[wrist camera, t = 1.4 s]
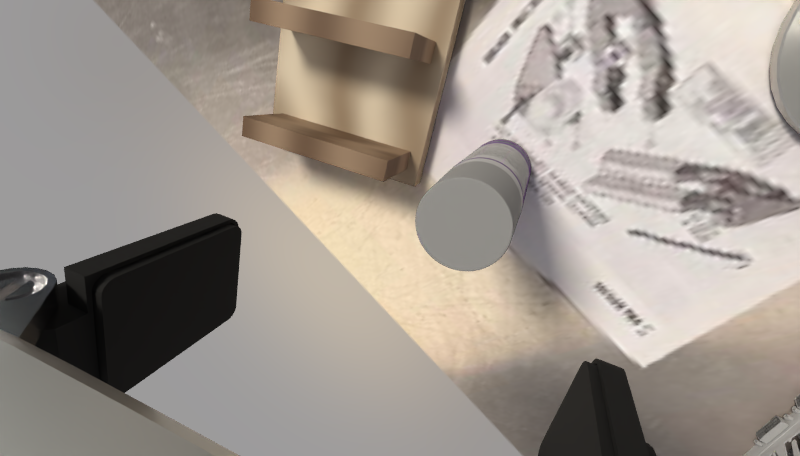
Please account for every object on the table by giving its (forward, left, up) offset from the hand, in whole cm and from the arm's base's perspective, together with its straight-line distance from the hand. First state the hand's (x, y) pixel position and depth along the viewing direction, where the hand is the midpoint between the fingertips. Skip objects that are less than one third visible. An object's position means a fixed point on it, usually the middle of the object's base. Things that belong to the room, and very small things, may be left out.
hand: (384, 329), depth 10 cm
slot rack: (+13, -7, -24) cm, 28 cm away
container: (0, 0, -24) cm, 24 cm away
